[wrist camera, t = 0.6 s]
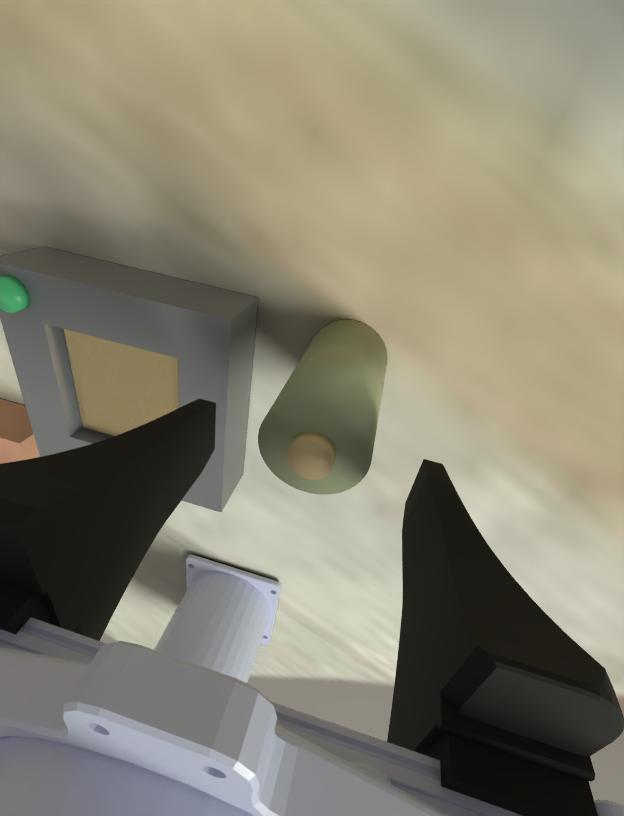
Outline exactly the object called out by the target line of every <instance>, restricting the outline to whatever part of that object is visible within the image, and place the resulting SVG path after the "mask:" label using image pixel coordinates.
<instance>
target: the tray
mask: <svg viewBox="0 0 624 816" xmlns="http://www.w3.org/2000/svg"><path fill="white" fill-rule="evenodd" d="M37 457H40V455H39V451H38V448H37V444H36V441H35V437H34V434H33V430H32V427H31V423H30V420H29V416H28V413H27V409H26V406H24V405H21V404H17V403H14V402H10V401H7V400H3V399H0V464H2V463H9V462H15V461H21V460H27V459H32V458H37Z"/></svg>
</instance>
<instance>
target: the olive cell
mask: <svg viewBox="0 0 624 816" xmlns="http://www.w3.org/2000/svg"><path fill="white" fill-rule="evenodd" d="M386 365H387V350H386V347H385V344H384V342H383V340H382V338H381V337H380V335H379V334H378V333H377V332H376V331H375V330H374V329H372V328H371V327H370V326H368V325H366V324H364V323H362V322H359V321H355V320H338V321H334V322H332V323H329V324H327V325H326V326H324V327H323V328H322V329H321V330H320V331H318V333H317V334H316V335H315V337H314V339H313V340H312V342H311V343H310V345H309V347H308V348H307V350H306V352H305V353H304V355H303V357H302V358H301V360H300V361H299V363H298V365H297V366H296V368H295V370H294V371H293V373H292V375H291V376H290V378H289V379H288V381H287V383H286V384H285V386H284V388H283V389H282V391H281V393H280V394H279V396H278V397H277V399H276V401H275V402H274V404H273V406H272V407H271V409H270V410H269V412H268V414H267V415H266V417H265V419H264V420H263V422H262V424H261V427H260V429H259V434H258V444H259V449H260V453H261V455H262V458H263V460H264V461H265V463H266V465H267V466H268V467H269V469H270V470H271V471H272V472H273V473H274V474H275V475H276V476H277V477H278V478H279V479H281V480H282V481H284V482H285V483H287V484H288V485H290V486H292V487H294V488H296V489H299V490H302V491H305V492H309V493H314V494H334V493H339V492H343V491H346V490H348V489H350V488H352V487H354V486H355V485H357V484H358V483H359V482H360V481H361V480H362V479H363V478H364V477H365V475H366V474H367V472H368V470H369V468H370V464H371V460H372V454H373V447H374V441H375V435H376V428H377V422H378V416H379V409H380V403H381V397H382V391H383V384H384V378H385V372H386Z"/></svg>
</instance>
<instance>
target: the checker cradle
mask: <svg viewBox="0 0 624 816" xmlns="http://www.w3.org/2000/svg"><path fill="white" fill-rule="evenodd" d="M258 299H259V298H258V297H254V296H250V295H245V294H241V293H237V292H233V291H229V290H224V289H220V288H216V287H212V286H208V285H203V284H199V283H195V282H191V281H187V280H182V279H178V278H174V277H170V276H165V275H161V274H157V273H153V272H149V271H144V270H140V269H136V268H132V267H128V266H123V265H119V264H115V263H111V262H107V261H102V260H98V259H94V258H90V257H86V256H81V255H77V254H73V253H69V252H65V251H60V250H56V249H52V248H48V247H40V248H35V249H31V250H26V251H21V252H16V253H12V254H7V255H2V256H0V318H1V322H2V325H3V329H4V332H5V336H6V339H7V343H8V346H9V350H10V353H11V357H12V360H13V364H14V367H15V371H16V374H17V378H18V381H19V385H20V388H21V392H22V395H23V399H24V402H25V406H26V409H27V413H28V416H29V420H30V423H31V427H32V430H33V434H34V437H35V441H36V444H37V448H38V451H39V455H40V457H42V456H47V455H52V454H56V453H60V452H64V451H67V450H71V449H75V448H79V447H83V446H87V445H90V444H93V443H96V442H99V441H102V440H105V439H108V438H111V437H114V436H113V435H110V434H106V433H103V432H99V431H96V430H92V429H89V428H85V427H83V425H82V420H81V415H80V410H79V405H78V400H77V394H76V389H75V384H74V379H73V374H72V369H71V364H70V359H69V354H68V349H67V344H66V339H65V334H64V329H67V330H70V331H74V332H78V333H82V334H86V335H90V336H93V337H97V338H101V339H105V340H109V341H113V342H116V343H120V344H124V345H128V346H132V347H136V348H139V349H143V350H147V351H151V352H155V353H159V354H162V355H166V356H170V357H174V358H178V381H179V408H180V407H182V406H184V405H186V404H188V403H190V402H193V401H195V400H197V399H204V400H207V401H211V402H215V403H216V425H215V449H214V451H213V453H212V455H211V457H210V459H209V461H208V462H207V464H206V466H205V468H204V469H203V471H202V473H201V474H200V476H199V477H198V478H197V480H196V481H195V483H194V484H193V485H192V487H191V488H190V489H189V491H188V492H187V493H186V495H185V496H184V497H183V499H182V501H185V502H189V503H192V504H195V505H199V506H202V507H205V508H209V509H212V510H215V511H219V512H222V510H223V508H224V507H225V505H226V503H227V501H228V500H229V498H230V496H231V495H232V493H233V491H234V489H235V488H236V486H237V484H238V482H239V481H240V479H241V477H242V475H243V471H244V459H245V448H246V436H247V425H248V414H249V402H250V391H251V379H252V368H253V356H254V345H255V334H256V322H257V311H258Z"/></svg>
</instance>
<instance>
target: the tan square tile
mask: <svg viewBox="0 0 624 816" xmlns="http://www.w3.org/2000/svg"><path fill="white" fill-rule="evenodd" d="M64 334H65V339H66V344H67V349H68V354H69V359H70V364H71V369H72V374H73V379H74V384H75V389H76V394H77V400H78V405H79V410H80V415H81V420H82V425H83V427H85V428H89V429H92V430H96V431H99V432H103V433H106V434H110V435H113V436H117V435H119V434H122V433H124V432H127V431H129V430H132V429H134V428H136V427H139V426H141V425H144V424H146V423H148V422H151V421H153V420H155V419H157V418H159V417H161V416H163V415H166V414H168V413H170V412H172V411H174V410H176V409H178V408H179V381H178V358H174V357H170V356H166V355H162V354H159V353H155V352H151V351H147V350H143V349H139V348H136V347H132V346H128V345H124V344H120V343H116V342H113V341H109V340H105V339H101V338H97V337H93V336H90V335H86V334H82V333H78V332H74V331H70V330H67V329H64Z"/></svg>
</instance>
